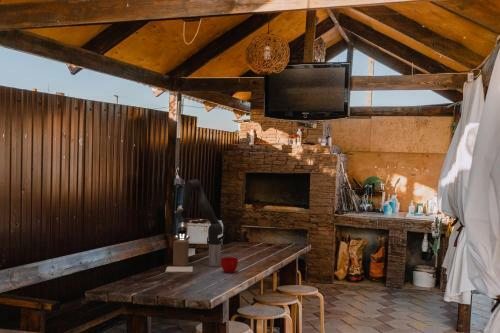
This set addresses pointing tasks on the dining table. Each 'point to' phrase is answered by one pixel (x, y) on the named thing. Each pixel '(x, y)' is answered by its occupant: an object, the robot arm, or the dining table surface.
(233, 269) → the ceramic cup
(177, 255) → the wooden block
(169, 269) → the pale grey mat
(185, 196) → the robot arm
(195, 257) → the dining table surface
